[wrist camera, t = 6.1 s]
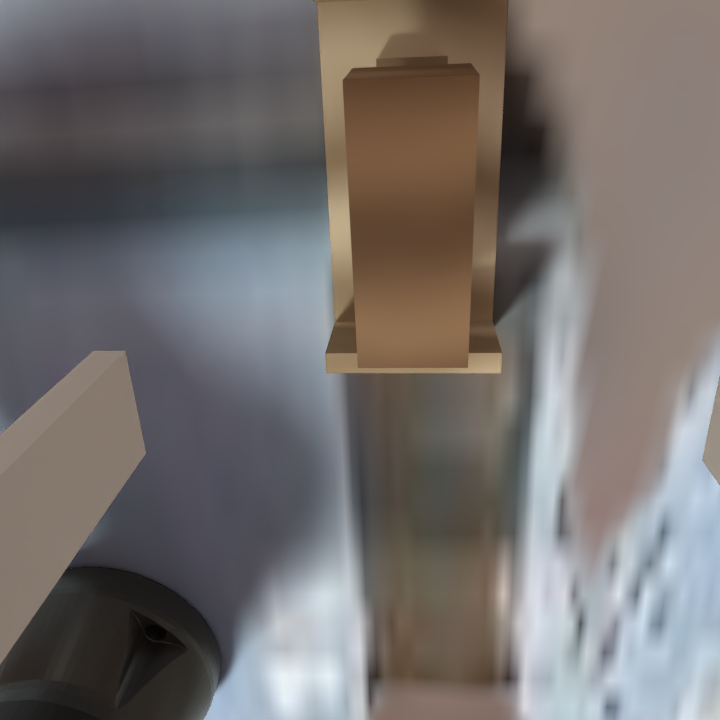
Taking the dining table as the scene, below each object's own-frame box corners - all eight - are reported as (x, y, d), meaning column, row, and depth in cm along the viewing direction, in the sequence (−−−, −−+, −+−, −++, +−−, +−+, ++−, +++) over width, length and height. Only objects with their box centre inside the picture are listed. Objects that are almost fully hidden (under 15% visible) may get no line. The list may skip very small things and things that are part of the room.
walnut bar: (462, 324, 30) (467, 367, 27) (364, 325, 31) (357, 368, 27) (471, 62, 25) (479, 74, 21) (352, 67, 25) (342, 80, 22)
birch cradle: (489, 331, 35) (500, 372, 30) (338, 332, 35) (326, 372, 31) (506, -32, 28) (524, -49, 23) (318, -22, 28) (300, -37, 24)
